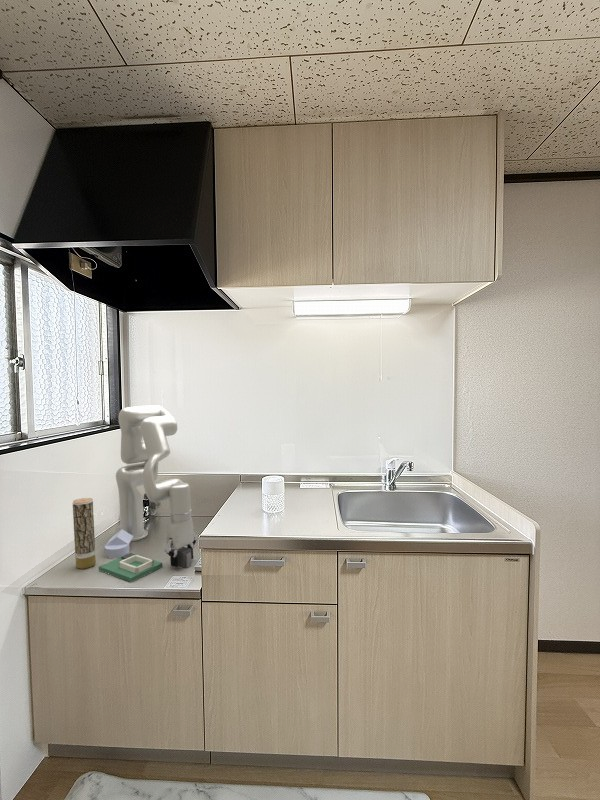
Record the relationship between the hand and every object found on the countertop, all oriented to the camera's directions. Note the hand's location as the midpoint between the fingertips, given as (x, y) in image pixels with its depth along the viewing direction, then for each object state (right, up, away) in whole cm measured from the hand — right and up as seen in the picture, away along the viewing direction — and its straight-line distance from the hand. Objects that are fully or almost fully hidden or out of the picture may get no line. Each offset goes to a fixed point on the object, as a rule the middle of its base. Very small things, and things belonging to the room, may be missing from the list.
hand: (182, 562), depth 171 cm
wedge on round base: (-29, -1, +14) cm, 32 cm away
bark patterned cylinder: (-36, -2, 0) cm, 36 cm away
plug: (0, -1, 0) cm, 1 cm away
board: (-18, -1, -3) cm, 18 cm away
